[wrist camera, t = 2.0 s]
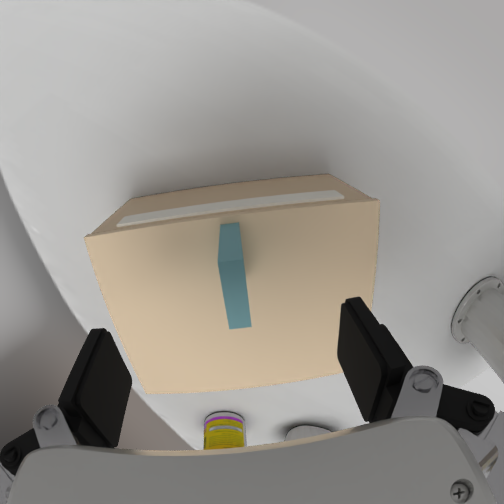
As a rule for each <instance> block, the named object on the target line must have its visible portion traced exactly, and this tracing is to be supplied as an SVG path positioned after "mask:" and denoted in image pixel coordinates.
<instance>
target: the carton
mask: <svg viewBox="0 0 504 504" xmlns="http://www.w3.org/2000/svg"><path fill="white" fill-rule="evenodd" d="M362 199H372V198H371V197H369V196H367V195H365V194H364V193H362V192H360V191H359V190H357V189H355V188H353V187H351V186H350V185H348V184H346V183H344V182H343V181H341V180H339V179H337V178H335V177H333V176H332V175H330V174H321V175H308V176H296V177H285V178H274V179H265V180H255V181H246V182H238V183H230V184H222V185H214V186H207V187H200V188H193V189H186V190H180V191H173V192H167V193H161V194H155V195H149V196H143V197H138V198H132V199H130V200H129V201H128V202H126V203H125V204H124V205H123V206H122V207H121V208H119V209H118V210H117V211H116V212H115V213H114V214H112V215H111V216H110V217H109V218H108V219H107V220H106V221H104V222H103V223H102V224H101V225H100V226H99V227H98V228H97V229H96V230H95V231H93V232H92V233H91V234H94V233H99V232H105V231H111V230H117V229H123V228H129V227H136V226H142V225H148V224H155V223H162V222H168V221H175V220H182V219H189V218H196V217H204V216H211V215H219V214H227V213H235V212H243V211H251V210H260V209H269V208H278V207H287V206H296V205H306V204H317V203H327V202H338V201H350V200H362Z"/></svg>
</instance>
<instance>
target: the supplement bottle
mask: <svg viewBox="0 0 504 504" xmlns="http://www.w3.org/2000/svg"><path fill="white" fill-rule="evenodd" d="M238 447H247V442H246V429H245V422H244V420H243V418H242V417H240V416H239V415H237V414H234V413H229V412H220V413H215V414H212V415H210V416H208V417H207V418H206V420H205V423H204V450H212V449H227V448H238Z"/></svg>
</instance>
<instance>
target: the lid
mask: <svg viewBox="0 0 504 504" xmlns="http://www.w3.org/2000/svg"><path fill="white" fill-rule="evenodd" d="M379 215H380V200H378V199H376V198H375V199H362V200H350V201H338V202H327V203H317V204H306V205H296V206H287V207H278V208H269V209H260V210H251V211H243V212H235V213H227V214H219V215H211V216H204V217H196V218H189V219H182V220H175V221H168V222H162V223H155V224H148V225H142V226H136V227H129V228H123V229H117V230H111V231H105V232H99V233H94V234H88V235H86V236H85V237H84V240H85V243H86V247H87V250H88V253H89V256H90V260H91V263H92V266H93V269H94V272H95V275H96V278H97V281H98V284H99V286H100V289H101V292H102V295H103V298H104V300H105V303H106V306H107V308H108V311H109V313H110V316H111V318H112V321H113V323H114V326H115V328H116V331H117V333H118V335H119V338H120V340H121V342H122V344H123V347H124V349H125V351H126V353H127V356H128V358H129V360H130V362H131V364H132V366H133V368H134V371H135V373H136V375H137V377H138V379H139V381H140V383H141V385H142V387H143V389H144V391H145V392H146V394H172V393H196V392H211V391H224V390H235V389H244V388H253V387H261V386H269V385H276V384H283V383H290V382H296V381H302V380H308V379H313V378H318V377H324V376H329V375H334V374H338V373H343V370H342V368H341V365H340V363H339V361H338V358H337V346H338V336H339V325H340V312H341V304H342V303H345V300H346V299H348V298H353V297H361V298H362V300H363V301H364V302H365V304H366V305H367V307H368V308H369V310H370V311H371V308H372V300H373V292H374V283H375V273H376V262H377V250H378V235H379Z"/></svg>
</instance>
